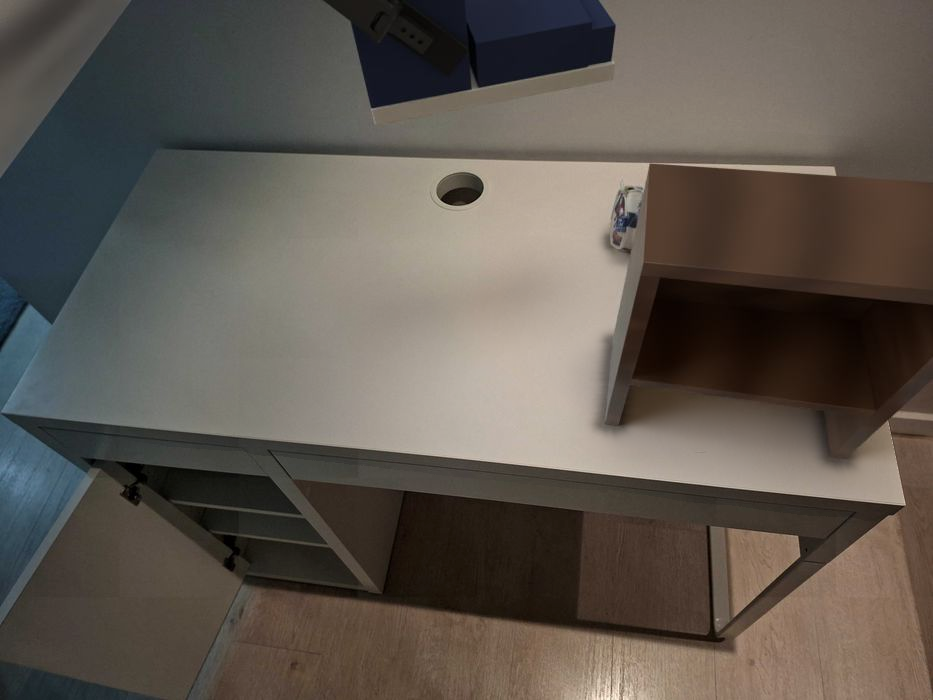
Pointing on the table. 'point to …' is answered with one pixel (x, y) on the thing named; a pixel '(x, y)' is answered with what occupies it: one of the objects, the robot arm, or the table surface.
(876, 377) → the brown box
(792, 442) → the table surface
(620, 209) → the pencil case
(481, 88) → the blue blocks on base
